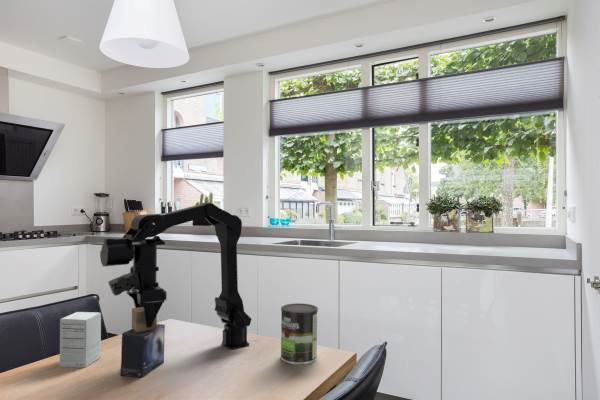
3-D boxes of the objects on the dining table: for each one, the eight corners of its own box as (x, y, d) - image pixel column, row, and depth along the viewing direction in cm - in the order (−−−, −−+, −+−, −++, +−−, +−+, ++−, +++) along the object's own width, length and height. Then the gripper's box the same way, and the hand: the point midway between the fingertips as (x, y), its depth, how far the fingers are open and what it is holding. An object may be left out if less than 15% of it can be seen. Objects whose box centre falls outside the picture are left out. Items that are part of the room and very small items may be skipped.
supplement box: (76, 356, 114) (76, 311, 114) (101, 357, 113) (102, 312, 113) (58, 367, 106) (59, 318, 107) (85, 368, 106) (86, 319, 106)
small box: (142, 378, 100) (143, 335, 100) (119, 376, 101) (119, 333, 101) (165, 362, 110) (166, 323, 110) (143, 360, 111) (144, 322, 112)
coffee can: (300, 368, 106) (300, 314, 107) (273, 358, 113) (273, 307, 114) (325, 357, 114) (325, 307, 114) (298, 349, 121) (298, 301, 121)
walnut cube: (151, 324, 109) (151, 305, 109) (156, 329, 105) (156, 309, 105) (131, 327, 106) (131, 308, 106) (136, 332, 102) (136, 312, 102)
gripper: (105, 261, 109) (104, 319, 109) (118, 270, 94) (117, 338, 93) (148, 258, 115) (147, 313, 115) (167, 266, 100) (166, 330, 100)
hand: (144, 323), depth 106 cm, fingers open, 9 cm apart
